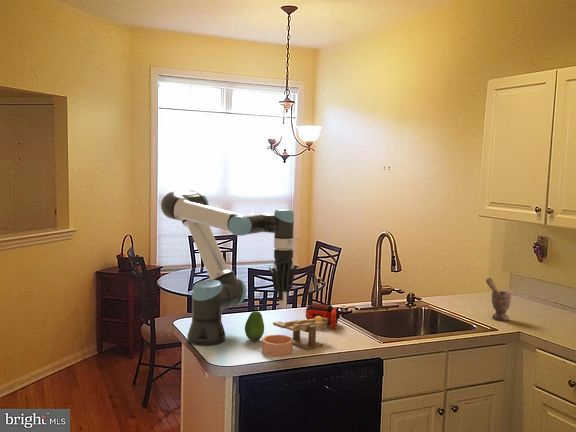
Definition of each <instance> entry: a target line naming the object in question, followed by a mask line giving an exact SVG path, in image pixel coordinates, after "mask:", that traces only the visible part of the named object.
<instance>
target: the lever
mask: <svg viewBox="0 0 576 432" xmlns="http://www.w3.org/2000/svg"><path fill="white" fill-rule="evenodd" d="M321 318H322V317H321ZM298 320H299V319H298ZM327 321H328V319H326V318H322V322H315V319H309V320H308V319H301V320H299V321H295V320H292V321H285V322H284V321H273V322H272V325H273V326H274V327H278V328H281V329H286V330H289V331H292V332H293V331H300V332H301V331H302V332H305V333H309V326H311V325H315V326H316V330H318V329H324V328H328V325H327Z"/></svg>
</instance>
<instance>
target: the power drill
mask: <svg viewBox="0 0 576 432" xmlns="http://www.w3.org/2000/svg"><path fill="white" fill-rule="evenodd" d="M317 316H320V317H322V318H326V319H328V321H327V326H330V329H331V330H332V329H333V330H336V329H337V325H338V322H339V321H338V320H339V319H340V316H341V314H340V311H339V307H337V306H334V307H333V306H332V304H327V303H326V304H324V303H313V302H312V303H310V305H309V304H308V305H307V307H306V310H305V317H306V320H309V319H315V317H317Z"/></svg>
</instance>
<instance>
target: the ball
mask: <svg viewBox="0 0 576 432" xmlns="http://www.w3.org/2000/svg"><path fill="white" fill-rule="evenodd" d="M315 322H322V318H321V317H320V316H317V317H315Z"/></svg>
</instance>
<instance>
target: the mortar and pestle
mask: <svg viewBox="0 0 576 432" xmlns="http://www.w3.org/2000/svg"><path fill="white" fill-rule="evenodd" d="M485 282H486V284H487V285H488V286H489V288H490V289H491V290H492V291H491V303H492V307H493V309H494V310H495V313H494V314H492V319H493V320H494V321H500V322H506V321H509V320H510V318H509V316H508V315H507V312H508V310H509V309H510V305H511V302H512V301H511V299H512V293H511V292H510V291H504V290H498V288H497V287H496V285H495V282H494V280H493V279H492V278H491V277H489V278H486V280H485Z"/></svg>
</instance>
